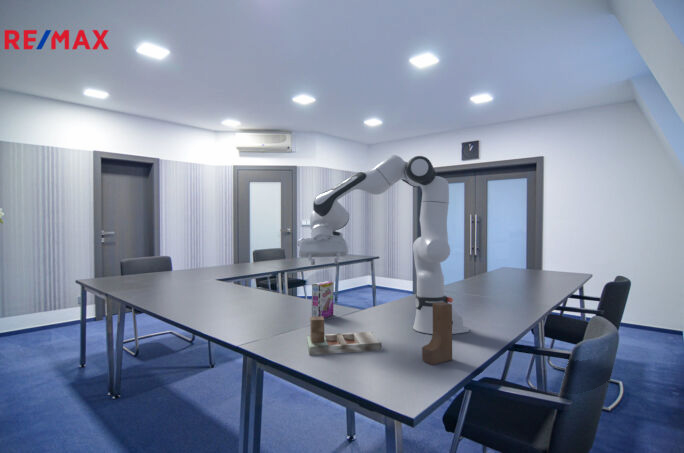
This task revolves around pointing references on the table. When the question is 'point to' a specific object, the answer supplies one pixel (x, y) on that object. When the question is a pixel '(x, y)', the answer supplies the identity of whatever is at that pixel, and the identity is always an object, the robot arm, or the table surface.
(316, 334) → the walnut block
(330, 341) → the track
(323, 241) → the robot arm
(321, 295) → the candy bar box
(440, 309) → the wooden block
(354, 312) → the table surface
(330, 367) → the table surface
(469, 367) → the table surface
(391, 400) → the table surface
